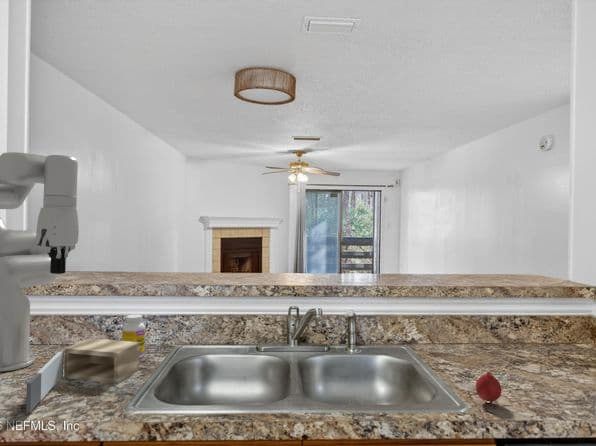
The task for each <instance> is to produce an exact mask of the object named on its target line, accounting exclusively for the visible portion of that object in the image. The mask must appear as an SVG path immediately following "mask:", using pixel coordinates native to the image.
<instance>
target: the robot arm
mask: <svg viewBox="0 0 596 446" xmlns="http://www.w3.org/2000/svg"><path fill="white" fill-rule="evenodd" d="M78 169H79V162H78V159H76V158H75V157H73V156H70V155H64V154H50V155H47V156H46V155H41V154H34V153H27V152H26V153H25V152H19V151H17V152H16V151H12V152H3V153H1V155H0V210H14V209H15V210H16V209H18V208H20V206H22V205H23V203H24V202H25V201H26V199H27V197H28V196H29V194H30V192H31V191H32V189H33V188H34V186H35V184H41V185H42V184H43V203H42V204H43V205H42V207H40V210H39V213H38V218H37V222H36V223H37V225H36V231H33V230H28V229H27V230H22V229H21V230H20V229H18V230H15V229H14V230H13V229H10V228H8V226H6V223H5V221H4V220H3V219H2V218H1V217H0V373H1V372H10V371H15V370H20V369H23V368H26V367H28V366H31V365H33V364H34V363H35V362H36V356H35V355H33V354H30V332H31V331H30V328H31V326H30V325H31V301H30V299H29V297H28V296H27V295H26V294H25V292H23V291H22V290H23V288H28V287H29V288H30V287H37V286H46V285H49V284H52V283H53V282H54V281H55V280H56V278H57V275H61V274H65V273H66V264H67V258H68V257H69V253H70V252H71V251H73V250H75V249H76V245H77V244H78V241H79V232H80V230H79V217H78V210H77V204H78V203H77V201H78V200H77V199H78V197H77V196H78V171H79V170H78Z"/></svg>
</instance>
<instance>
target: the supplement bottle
mask: <svg viewBox="0 0 596 446" xmlns="http://www.w3.org/2000/svg"><path fill="white" fill-rule="evenodd" d="M125 321H126V323H125V324H123V326H122V330H121V332H122V333H121V341H130V342H140V347H139V359H142V358H143V357H144V356H145V346H146V345H145V342H146V341H145V340H146V325H145V324H144V323H143V322H142V321H143V315H142V314H137V313H136V314H128V315H126V317H125Z"/></svg>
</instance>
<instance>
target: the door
mask: <svg viewBox="0 0 596 446" xmlns="http://www.w3.org/2000/svg"><path fill="white" fill-rule="evenodd" d="M64 357H65V350H58V351H57V352H56V353H55V355H54V356H52V358H51V359H50V360H48V362H46V363H45V365H43V366H42V368H40V369H39V370H38V371H37V372H36V373H35V375H34V376H33V377H32V378H31V379H29V380H28V382H27V383H26V401H25V402H26V404H25V405H26V408H25V413H26V414H30V413H32V411H33V410H34V409H35V408H36V406H37V405H38V404H39V403H40V402H41V401H42V400H43V399H44V398H45V396H46V395H47V394H48V393H49V392H50V391H51V389H52V388H53V387H54V386H55V385H56V383H57V382H58V381H59V380H60V378H61V377H62V376H64Z"/></svg>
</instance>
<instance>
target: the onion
mask: <svg viewBox="0 0 596 446" xmlns="http://www.w3.org/2000/svg"><path fill="white" fill-rule="evenodd" d="M475 391H476V394H477V395H478V396H479V398H480V399H482V401H484V400H486V401H490V402H492V403H493V401H494V402H495V401H497V400H498V399H500V397H501V395H502V386H501V383H500V382H499V380H498V379H497V378H496V377H495V376H494V375H493V374H492V372H491V371H487V372H486V373H484V374H483V375H481V376H480V377H478V378H477V380H476V383H475Z"/></svg>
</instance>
